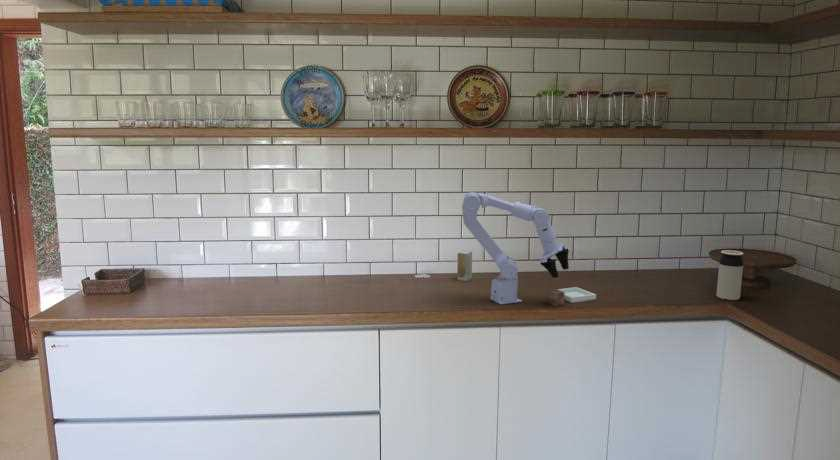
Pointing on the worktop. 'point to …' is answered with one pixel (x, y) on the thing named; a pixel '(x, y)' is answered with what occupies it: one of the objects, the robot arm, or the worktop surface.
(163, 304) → the worktop surface
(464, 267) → the skincare box
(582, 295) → the tray
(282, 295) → the worktop surface
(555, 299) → the walnut block
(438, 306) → the worktop surface
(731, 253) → the travel mug
